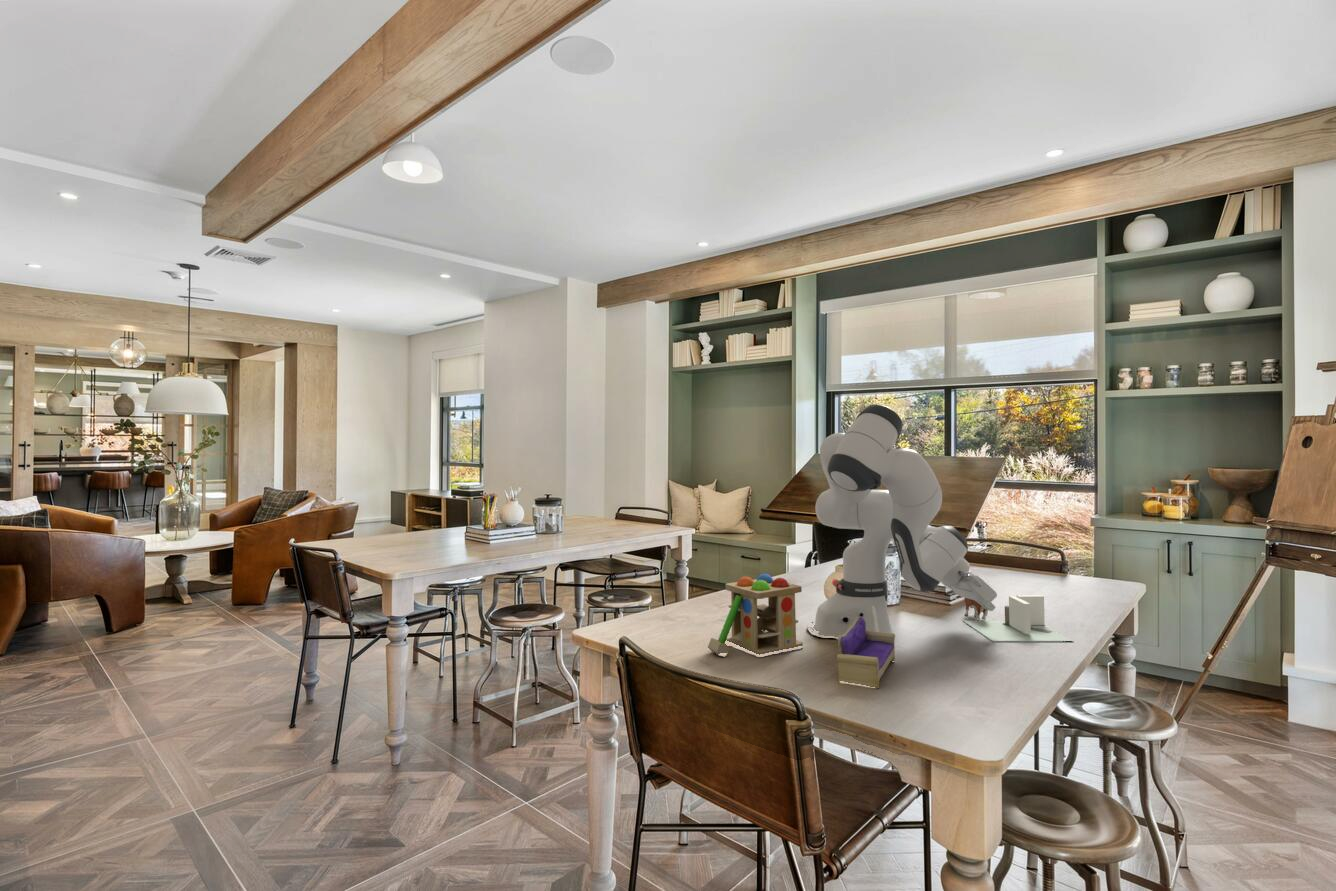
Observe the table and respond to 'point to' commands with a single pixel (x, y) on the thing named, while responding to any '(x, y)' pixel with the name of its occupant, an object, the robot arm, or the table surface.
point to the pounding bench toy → (760, 616)
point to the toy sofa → (864, 654)
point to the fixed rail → (1031, 609)
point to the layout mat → (1015, 632)
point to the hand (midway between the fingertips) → (991, 609)
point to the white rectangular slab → (1019, 615)
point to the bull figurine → (975, 608)
